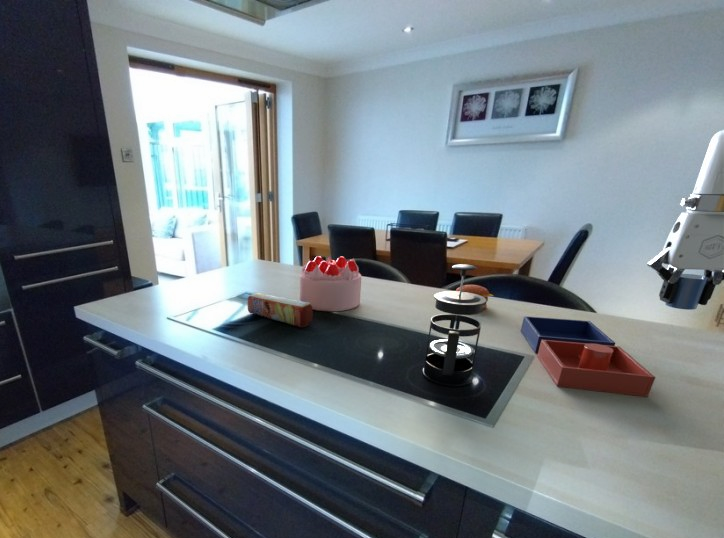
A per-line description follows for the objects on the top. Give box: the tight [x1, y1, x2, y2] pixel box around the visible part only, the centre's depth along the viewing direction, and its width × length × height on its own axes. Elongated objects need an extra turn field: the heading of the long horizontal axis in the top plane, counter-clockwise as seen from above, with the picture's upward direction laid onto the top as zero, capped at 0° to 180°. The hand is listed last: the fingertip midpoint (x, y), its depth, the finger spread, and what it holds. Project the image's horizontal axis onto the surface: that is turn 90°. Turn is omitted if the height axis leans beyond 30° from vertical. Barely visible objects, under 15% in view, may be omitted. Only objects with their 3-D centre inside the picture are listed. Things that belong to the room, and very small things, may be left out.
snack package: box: [246, 292, 314, 328], centre depth 113 cm, size 21×7×7 cm, turn 48°
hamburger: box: [455, 284, 495, 311], centre depth 120 cm, size 9×10×7 cm
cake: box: [299, 255, 362, 312], centre depth 125 cm, size 20×20×14 cm
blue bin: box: [520, 315, 616, 354], centre depth 92 cm, size 14×14×4 cm
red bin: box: [537, 340, 656, 398], centre depth 78 cm, size 14×14×4 cm
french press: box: [422, 263, 487, 388], centre depth 75 cm, size 12×9×23 cm
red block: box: [577, 343, 613, 371], centre depth 78 cm, size 9×4×6 cm, turn 161°
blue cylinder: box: [665, 273, 708, 311], centre depth 77 cm, size 9×4×6 cm, turn 161°
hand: (682, 301), depth 76 cm, fingers closed on blue cylinder, 4 cm apart
